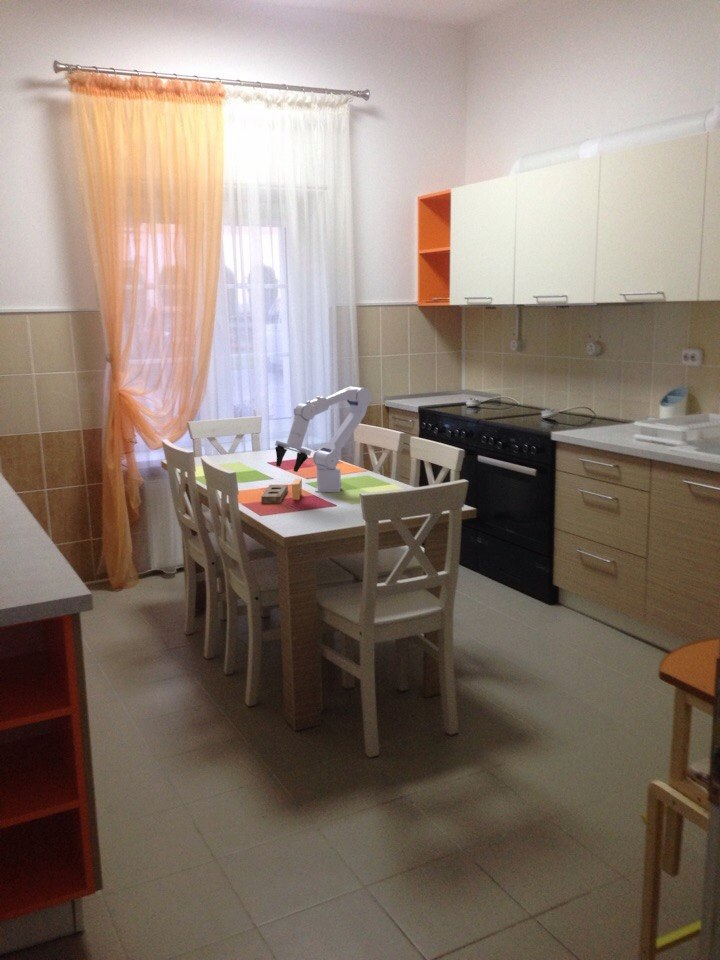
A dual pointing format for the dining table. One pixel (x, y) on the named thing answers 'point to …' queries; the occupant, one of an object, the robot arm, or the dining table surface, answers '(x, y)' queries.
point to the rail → (274, 494)
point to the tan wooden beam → (297, 489)
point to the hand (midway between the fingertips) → (286, 468)
